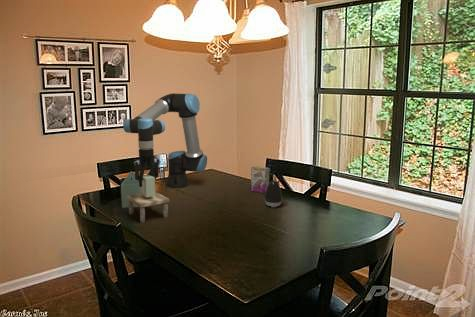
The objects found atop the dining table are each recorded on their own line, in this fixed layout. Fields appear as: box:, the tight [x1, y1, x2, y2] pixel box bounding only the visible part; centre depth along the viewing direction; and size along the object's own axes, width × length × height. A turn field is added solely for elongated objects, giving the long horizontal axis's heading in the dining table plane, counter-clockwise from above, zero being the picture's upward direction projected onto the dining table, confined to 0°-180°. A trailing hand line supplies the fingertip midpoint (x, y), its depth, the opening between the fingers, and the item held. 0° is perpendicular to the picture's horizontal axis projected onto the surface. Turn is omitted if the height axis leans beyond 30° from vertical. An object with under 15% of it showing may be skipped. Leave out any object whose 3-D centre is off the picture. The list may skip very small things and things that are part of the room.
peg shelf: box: [127, 191, 170, 223], centre depth 216 cm, size 16×18×10 cm
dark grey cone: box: [264, 180, 283, 208], centre depth 233 cm, size 10×10×15 cm
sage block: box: [140, 174, 156, 197], centre depth 213 cm, size 5×8×10 cm, turn 36°
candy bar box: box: [250, 165, 270, 194], centre depth 261 cm, size 11×5×16 cm, turn 58°
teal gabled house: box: [120, 170, 140, 209], centre depth 232 cm, size 16×8×20 cm, turn 150°
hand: (147, 191), depth 214 cm, fingers closed on sage block, 5 cm apart
